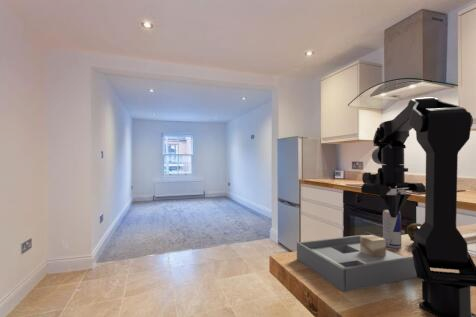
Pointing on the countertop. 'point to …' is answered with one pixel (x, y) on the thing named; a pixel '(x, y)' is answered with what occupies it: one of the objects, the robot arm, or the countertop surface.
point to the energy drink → (392, 229)
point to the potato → (412, 230)
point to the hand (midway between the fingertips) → (393, 217)
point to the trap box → (353, 263)
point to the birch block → (373, 245)
